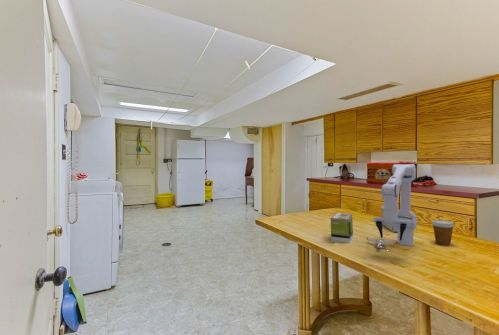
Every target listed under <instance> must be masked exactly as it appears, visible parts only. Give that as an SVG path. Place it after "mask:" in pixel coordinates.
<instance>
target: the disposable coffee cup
mask: <svg viewBox="0 0 499 335" xmlns="http://www.w3.org/2000/svg"><path fill="white" fill-rule="evenodd" d="M431 224H432V228H433V233H434V239H435V243H436V244H437V245H440V246H451V242H452V237H453V230H454V227H455V225H454V222H453V221H450V220H443V219H434V220H432V223H431Z"/></svg>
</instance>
